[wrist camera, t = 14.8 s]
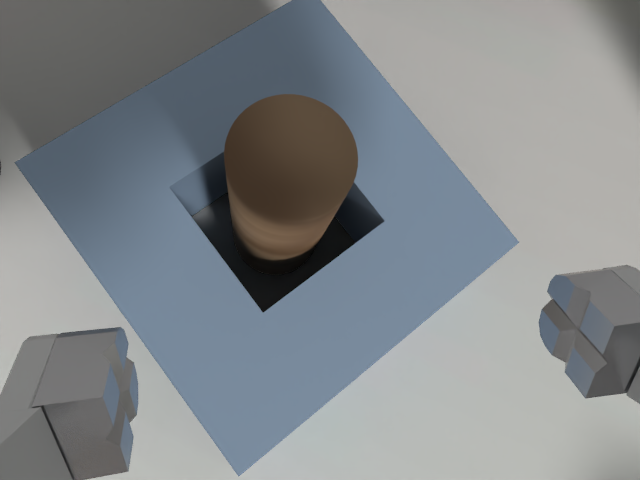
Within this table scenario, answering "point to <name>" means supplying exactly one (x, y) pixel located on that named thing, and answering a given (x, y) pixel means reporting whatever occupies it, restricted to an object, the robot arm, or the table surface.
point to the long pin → (286, 178)
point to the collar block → (209, 267)
